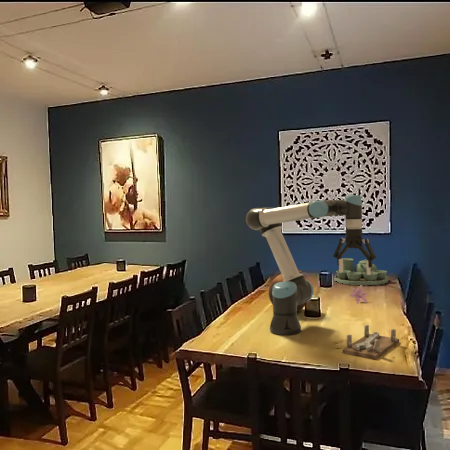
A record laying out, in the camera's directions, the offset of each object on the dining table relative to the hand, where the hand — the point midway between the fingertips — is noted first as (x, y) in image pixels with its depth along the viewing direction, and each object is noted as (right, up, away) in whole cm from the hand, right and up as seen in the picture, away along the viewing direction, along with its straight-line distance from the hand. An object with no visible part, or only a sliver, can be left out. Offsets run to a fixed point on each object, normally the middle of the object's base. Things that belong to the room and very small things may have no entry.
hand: (354, 273), depth 216 cm
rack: (+2, -30, -19) cm, 35 cm away
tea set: (+44, -21, +137) cm, 146 cm away
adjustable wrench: (+2, -28, -18) cm, 34 cm away
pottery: (-23, -27, +49) cm, 61 cm away
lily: (+21, -25, +68) cm, 75 cm away
